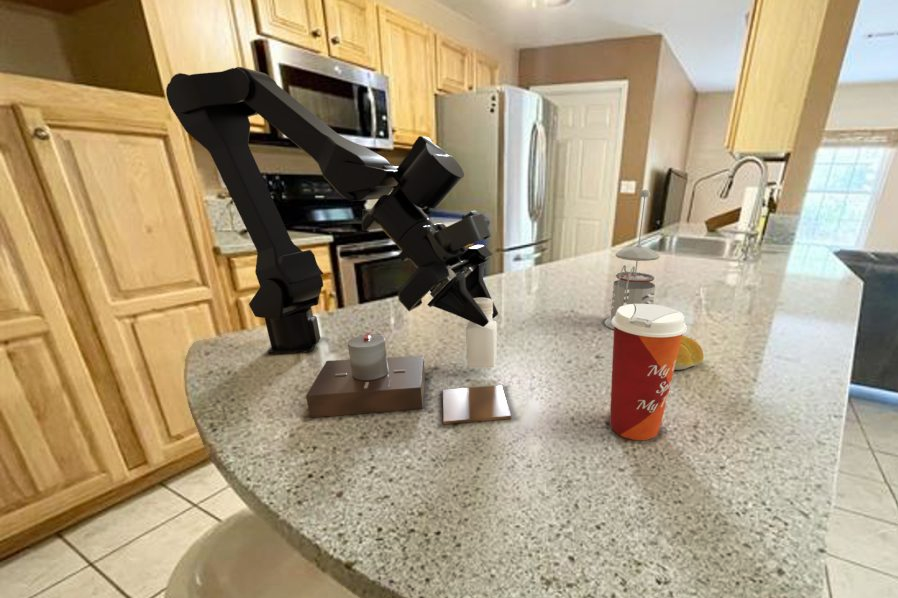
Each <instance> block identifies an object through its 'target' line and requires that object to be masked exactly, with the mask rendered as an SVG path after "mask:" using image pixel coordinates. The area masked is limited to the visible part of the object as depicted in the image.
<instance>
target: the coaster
mask: <svg viewBox="0 0 898 598" xmlns="http://www.w3.org/2000/svg"><path fill="white" fill-rule="evenodd" d="M503 387H504V386H503V385H488V386H487V385H486V386H475V387H473V386H472V387H460V388H459V387H458V388H448V389H447V388H446V389H442V419H443V420H442V422H443V423H442V424H443V425H452V424H453V425H454V424H463V423H465V424H466V423H475V422H487V421H497V420H508V419H512V414H511V410H510V407H509V404H508V401H507V398H506V393H505V391H504V388H503Z"/></svg>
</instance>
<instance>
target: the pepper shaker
mask: <svg viewBox="0 0 898 598" xmlns="http://www.w3.org/2000/svg"><path fill="white" fill-rule="evenodd" d="M473 299H474V300H475V302H476V303H477V304H478V306H479V307H480V309H481V310H482V311H483V313H484V314H485V316H486V317H487V319H488V321H489V322H488V324H486V325H485V326H484V327H482V326H480V325H478V324H475V323H473V322H471V321H469V320H467V322H466V323H467V324H466V326H465V337H466V338H465V339H466V364H467V366H468V368H479V369H480V368H481V369H483V368H484V369H493V368H495V366H496V362H497V356H498V355H497V353H498V352H497V351H498V350H497V347H498V346H497V344H498V342H497V341H498V340H497V339H498V337H497V334H498V333H497V329H498V328H497V326H498V325H497V321H496V320H493V318H492V314H493V303H494V300H493V298H492V299H489V298H473Z"/></svg>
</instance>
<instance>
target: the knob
mask: <svg viewBox="0 0 898 598" xmlns="http://www.w3.org/2000/svg"><path fill="white" fill-rule="evenodd" d="M346 343H347V349H348V350H347V351H348V355H349V360H350V363H351V369H352V375H353V377H354V378H355V379H358V380H374V379H378V378H381V377H383V376H385V375H386V374H387V373H388V363H387V357H388V356H387V347H386V339H385V337H384V336H382V335H380V334H372V333H371V332H365V334H363V335H357V336H354V337H351V338H350V339H349V340H348V341H347V342H346Z"/></svg>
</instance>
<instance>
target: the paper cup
mask: <svg viewBox="0 0 898 598" xmlns="http://www.w3.org/2000/svg"><path fill="white" fill-rule="evenodd" d="M612 324H613V325H614V329H613V339H612V340H613V345H612V361H611V363H612V364H611V387H610V390H611V391H610V410H609V411H610V413H609V415H610V416H609V418H610V419H609V420H610V421H609V422H610V423H609V424H610V428H611V429H612V430H613V431H614V433H616V434H617V435H618V436H621V437H623V438H625V439H629V440H632V441H648V440H651V439H653V438H655V437H656V436H657V435H658V434H659V431H660V428H661V426H662V425H661V424H662V421H663V419H664V418H663V417H664V413H665V409H666V405H667V401H668V397H669V394H670V389H671V384H672V380H673V376H674V372H675V370H674V368H675V364H676V359H677V355H678V351H679V347H680V343H681V338H682V336H683V334H685V333H686V332H687V330H688V326H687V324H686V323H685V316H684V314H683V313H682V312H681V311H679V310H677V309H674V308H672V307H669V306H666V305H661V304H654V303H653V304H650V303H649V304H628V305H627V304H624V305H623V306H621V307H619V308H618V309H617V311H616V315H615V316H614V317H613V319H612Z"/></svg>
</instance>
